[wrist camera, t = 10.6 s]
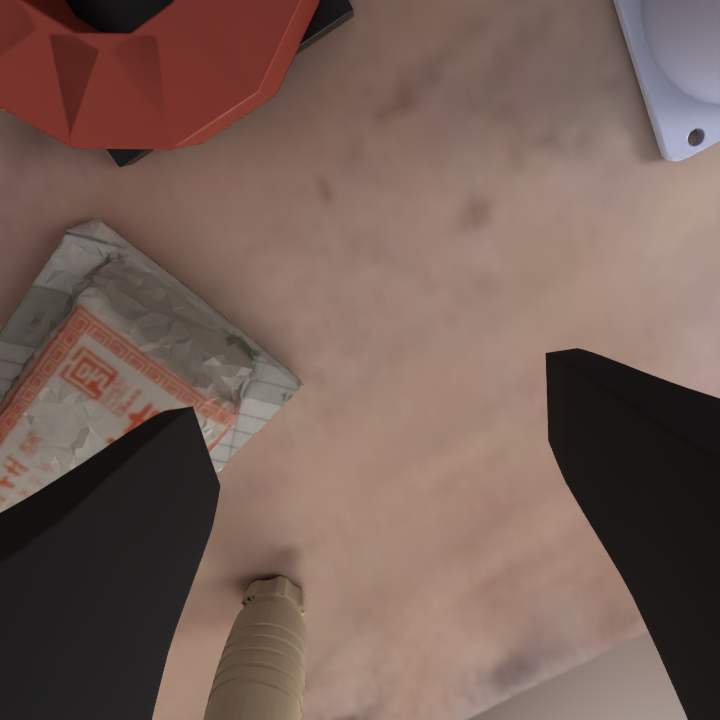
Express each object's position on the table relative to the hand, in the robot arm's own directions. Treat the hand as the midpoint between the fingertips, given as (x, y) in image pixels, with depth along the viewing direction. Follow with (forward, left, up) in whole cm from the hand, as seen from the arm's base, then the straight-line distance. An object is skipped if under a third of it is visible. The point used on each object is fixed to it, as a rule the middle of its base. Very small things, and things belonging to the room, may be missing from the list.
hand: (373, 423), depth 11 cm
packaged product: (+14, 0, -11) cm, 18 cm away
